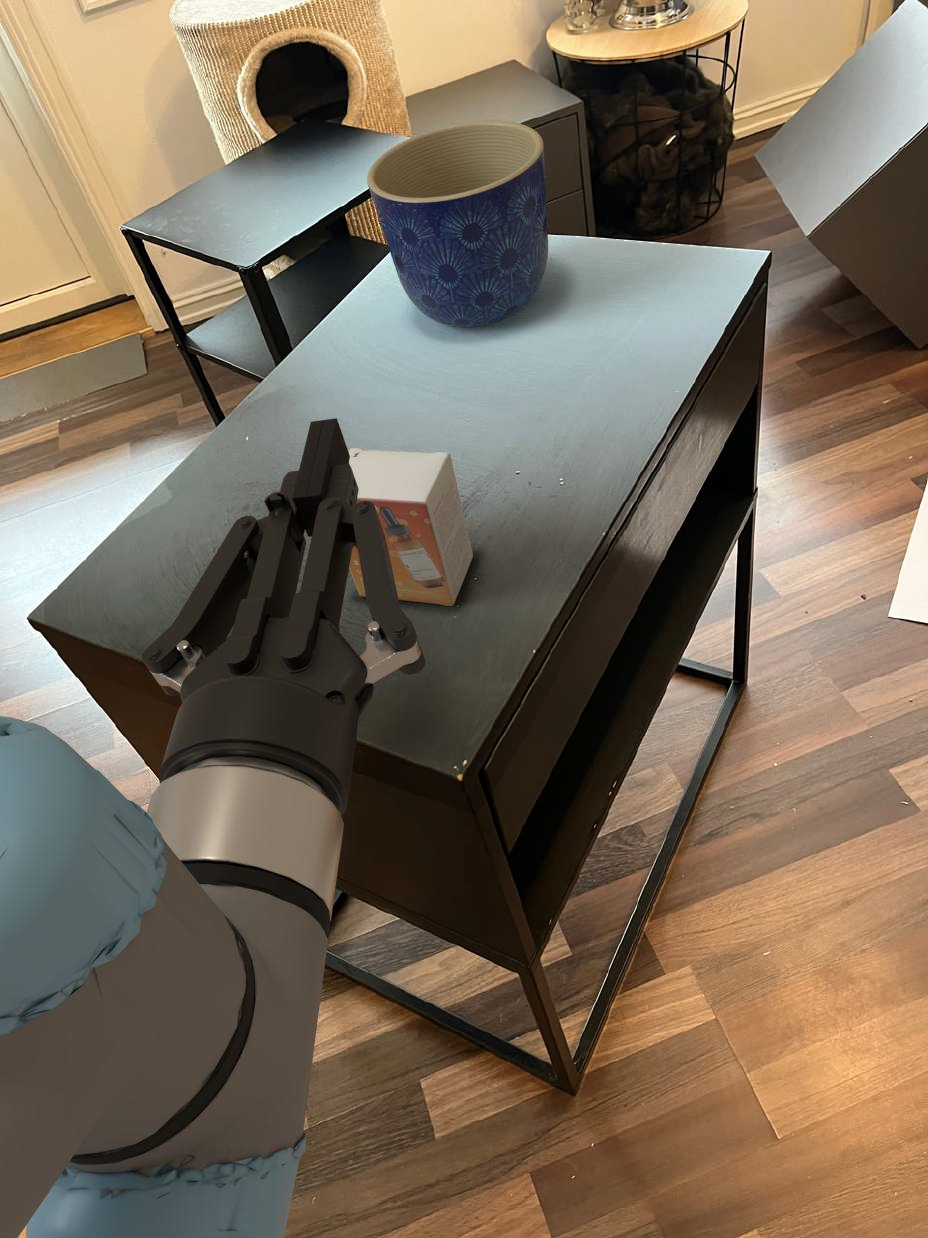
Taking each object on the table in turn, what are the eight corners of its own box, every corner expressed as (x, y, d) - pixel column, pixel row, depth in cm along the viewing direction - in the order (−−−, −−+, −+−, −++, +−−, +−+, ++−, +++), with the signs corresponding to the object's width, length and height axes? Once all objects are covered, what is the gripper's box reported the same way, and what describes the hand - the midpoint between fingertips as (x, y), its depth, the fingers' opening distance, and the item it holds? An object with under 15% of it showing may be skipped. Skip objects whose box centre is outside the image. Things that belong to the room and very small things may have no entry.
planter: (442, 369, 92) (407, 219, 80) (379, 302, 103) (341, 162, 92) (591, 305, 94) (577, 151, 83) (514, 247, 106) (492, 104, 94)
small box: (358, 598, 72) (318, 495, 65) (383, 548, 76) (348, 445, 68) (455, 608, 70) (425, 502, 62) (476, 555, 73) (450, 449, 65)
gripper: (140, 858, 41) (245, 502, 56) (432, 842, 38) (456, 476, 54) (53, 765, 35) (196, 399, 51) (388, 739, 33) (429, 366, 49)
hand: (330, 439), depth 52 cm, fingers closed
